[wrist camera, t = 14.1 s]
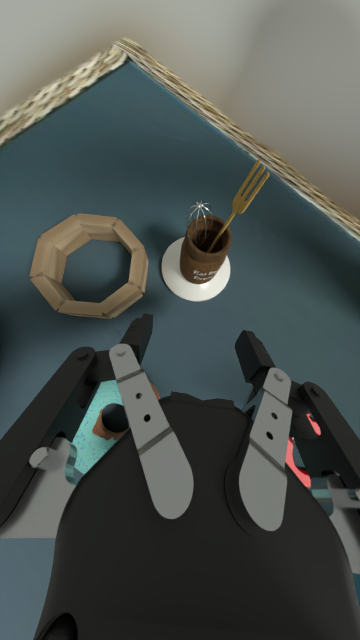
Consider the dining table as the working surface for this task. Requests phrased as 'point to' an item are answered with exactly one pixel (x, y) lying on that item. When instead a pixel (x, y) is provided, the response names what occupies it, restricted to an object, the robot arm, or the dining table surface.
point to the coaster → (183, 286)
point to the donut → (98, 427)
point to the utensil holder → (213, 235)
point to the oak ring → (70, 238)
